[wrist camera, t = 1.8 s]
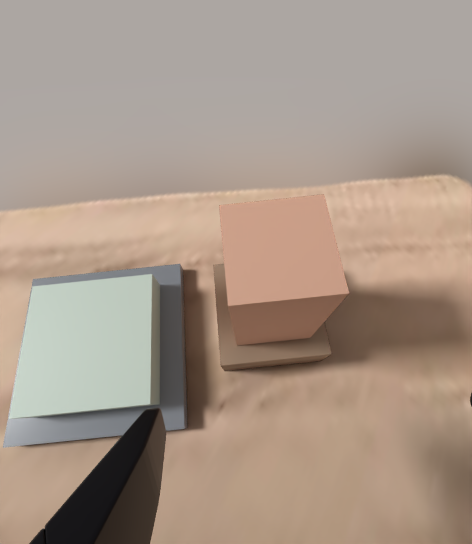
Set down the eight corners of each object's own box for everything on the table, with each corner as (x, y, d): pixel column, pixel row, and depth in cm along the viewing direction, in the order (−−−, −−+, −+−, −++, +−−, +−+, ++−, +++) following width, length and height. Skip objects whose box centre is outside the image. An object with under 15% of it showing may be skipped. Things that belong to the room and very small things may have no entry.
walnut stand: (320, 360, 21) (331, 353, 18) (224, 370, 21) (220, 365, 18) (303, 272, 23) (310, 254, 21) (217, 281, 23) (213, 264, 21)
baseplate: (187, 427, 20) (184, 428, 19) (14, 445, 20) (2, 447, 19) (182, 269, 24) (180, 263, 23) (41, 284, 24) (32, 279, 23)
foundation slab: (159, 404, 19) (150, 404, 17) (31, 417, 19) (8, 418, 17) (159, 284, 22) (152, 273, 21) (50, 296, 23) (32, 286, 21)
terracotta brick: (310, 338, 19) (349, 293, 11) (236, 345, 19) (227, 305, 11) (297, 270, 20) (324, 194, 13) (230, 277, 20) (218, 205, 13)
